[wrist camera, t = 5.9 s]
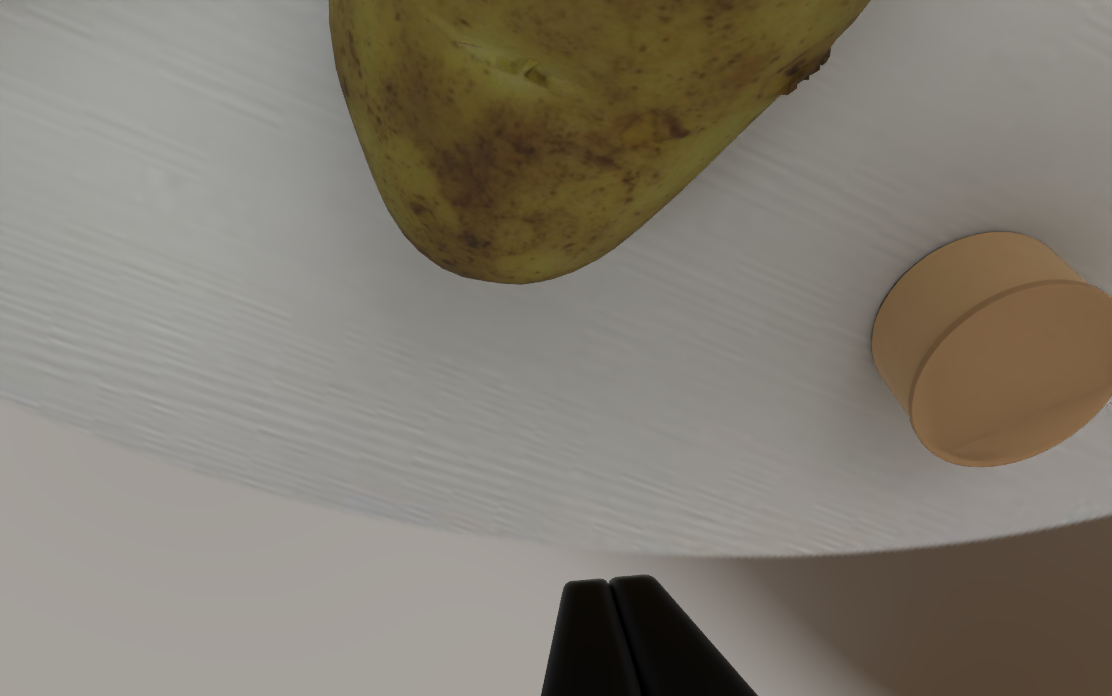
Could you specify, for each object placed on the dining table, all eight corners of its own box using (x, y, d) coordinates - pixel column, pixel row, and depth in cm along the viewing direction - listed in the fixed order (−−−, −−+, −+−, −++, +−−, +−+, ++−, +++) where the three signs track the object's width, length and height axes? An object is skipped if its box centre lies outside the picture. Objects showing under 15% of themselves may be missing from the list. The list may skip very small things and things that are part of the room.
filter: (918, 433, 27) (964, 500, 25) (830, 315, 24) (873, 379, 22) (1096, 322, 25) (1159, 383, 23) (1023, 184, 23) (1088, 239, 21)
